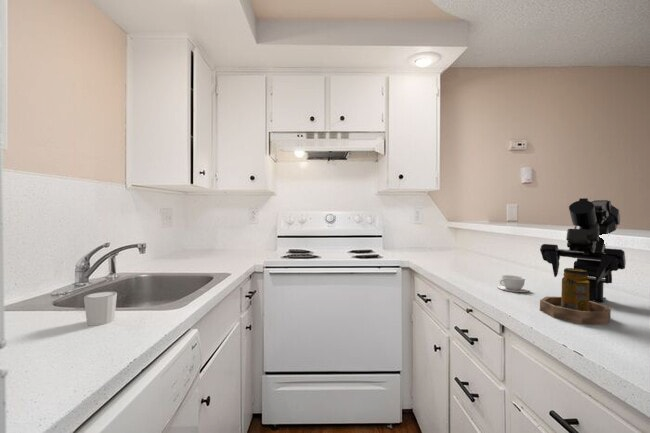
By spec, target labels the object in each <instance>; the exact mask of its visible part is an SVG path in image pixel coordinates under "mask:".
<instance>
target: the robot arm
mask: <svg viewBox="0 0 650 433" xmlns="http://www.w3.org/2000/svg"><path fill="white" fill-rule="evenodd" d="M568 211H569V214H570V219H571V223H572V225H573V226H574V228H568V229H567V231H566V238H565V239H566V241H567V243H566V247H567V248H568V249H563V248H562V249H561V248H559V247H558V244H554V243H553V244H552V243H551V244H549V243H543V244H541V246H540V249H539V250H540V253H541V257H542V259H543V261H545V262H547V263H548V264H550V265H552V266H551V267H552V272H553V277H554V278H556V277H558V274H559V268H560V258H561V257H564V258H571V259H576V260H575V261H574V262H573V268H575V269H582V270H586V271H587V272H588V275H587V276H588V278H587V279H588V281H589V283H590V284H589V301H592V302H596V303H604V302H605V301H606V300H607V297H604V286H605V285H604V284H607V285H608V284H613V272H617V271H618V270H624V269H626V263H627V262H626V261H627V260H626V255H625V254H626V253H625V251H624V250H623V249H621V248H620V249H619V248H608V247H607V245H606V246H605V244H604V240H603V239H602V238H600V237H599V235H602V234H608V233H609V234H611V233H613V232H615V231H616V230H617V228H618V225H621V224H620V223H621V213H620V210H619V208H617V207H615V206H614V205H612V203H611V200H607V199H602V200H601V199H600V200H599V199H597V200H595V199H594V200H593V201H589V198H587V197H586V198H585V197H584V198H579V199H578V200H577V201H574V202H572V203H570V205H569V206H568ZM606 247H607V248H606Z"/></svg>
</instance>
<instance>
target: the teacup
mask: <svg viewBox="0 0 650 433" xmlns="http://www.w3.org/2000/svg"><path fill="white" fill-rule="evenodd" d="M525 281H526V278H525V277H523V276H519V275H511V274H509V275H508V274H507V275H506V274H503V275H501V279H500V280H499V284H500V285H497V289H500V290H503V291H506V292H507V291H508V292H514V293H527V292H529V291H530V289H528V288H526V287H524V285H525Z"/></svg>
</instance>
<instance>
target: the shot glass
mask: <svg viewBox="0 0 650 433" xmlns="http://www.w3.org/2000/svg"><path fill="white" fill-rule="evenodd" d="M117 297H118V292H117V291H100V292H94V293H89V294H87V295H85V296H83V301H84V311H85V318H86V324H87V326H91V327H93V326H94V327H95V326H103V325H107V324H110V323H112V322H114V321H115V318H116V309H117V308H116V307H117Z"/></svg>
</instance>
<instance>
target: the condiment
mask: <svg viewBox="0 0 650 433" xmlns="http://www.w3.org/2000/svg"><path fill="white" fill-rule="evenodd" d="M587 275H588V272H587V271H586V270H582V269H575V268H574V267H566V268H564V270H563V277H562V278H561V294H560V295H561V296H560V297H561V306H558V307H563V308H568V309H573V310H578V311H589V301H590V300H589V284H590V283H589V281H588V279H587V278H588V277H589V276H587Z"/></svg>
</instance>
